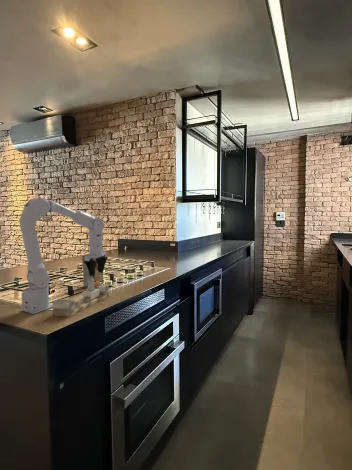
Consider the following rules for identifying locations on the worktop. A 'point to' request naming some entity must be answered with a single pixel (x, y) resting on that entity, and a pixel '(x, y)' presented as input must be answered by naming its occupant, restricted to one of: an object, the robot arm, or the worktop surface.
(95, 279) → the coffee box
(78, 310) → the rail base
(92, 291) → the carriage
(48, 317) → the worktop surface
